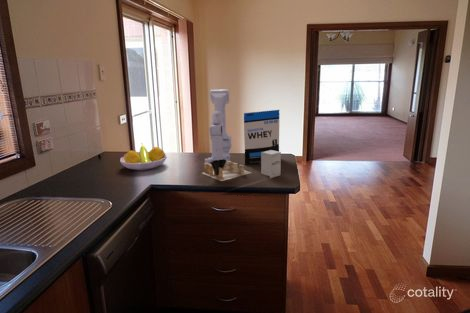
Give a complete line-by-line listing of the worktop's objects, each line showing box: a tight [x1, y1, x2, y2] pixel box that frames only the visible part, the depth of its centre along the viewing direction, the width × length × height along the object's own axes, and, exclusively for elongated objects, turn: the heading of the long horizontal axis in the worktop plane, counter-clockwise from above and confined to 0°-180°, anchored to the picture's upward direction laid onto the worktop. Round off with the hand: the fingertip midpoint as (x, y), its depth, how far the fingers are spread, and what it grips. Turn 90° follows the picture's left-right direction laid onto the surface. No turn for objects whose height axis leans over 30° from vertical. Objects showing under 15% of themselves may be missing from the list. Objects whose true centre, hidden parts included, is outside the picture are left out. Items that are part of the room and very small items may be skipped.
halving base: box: [201, 159, 253, 182], centre depth 177 cm, size 18×20×6 cm
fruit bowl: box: [119, 142, 168, 172], centre depth 196 cm, size 28×27×11 cm
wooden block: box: [203, 162, 223, 178], centre depth 174 cm, size 14×2×5 cm, turn 39°
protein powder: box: [243, 109, 280, 166], centre depth 196 cm, size 10×24×30 cm, turn 118°
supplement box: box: [260, 150, 282, 179], centre depth 172 cm, size 7×7×13 cm
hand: (218, 174), depth 171 cm, fingers closed on wooden block, 2 cm apart
